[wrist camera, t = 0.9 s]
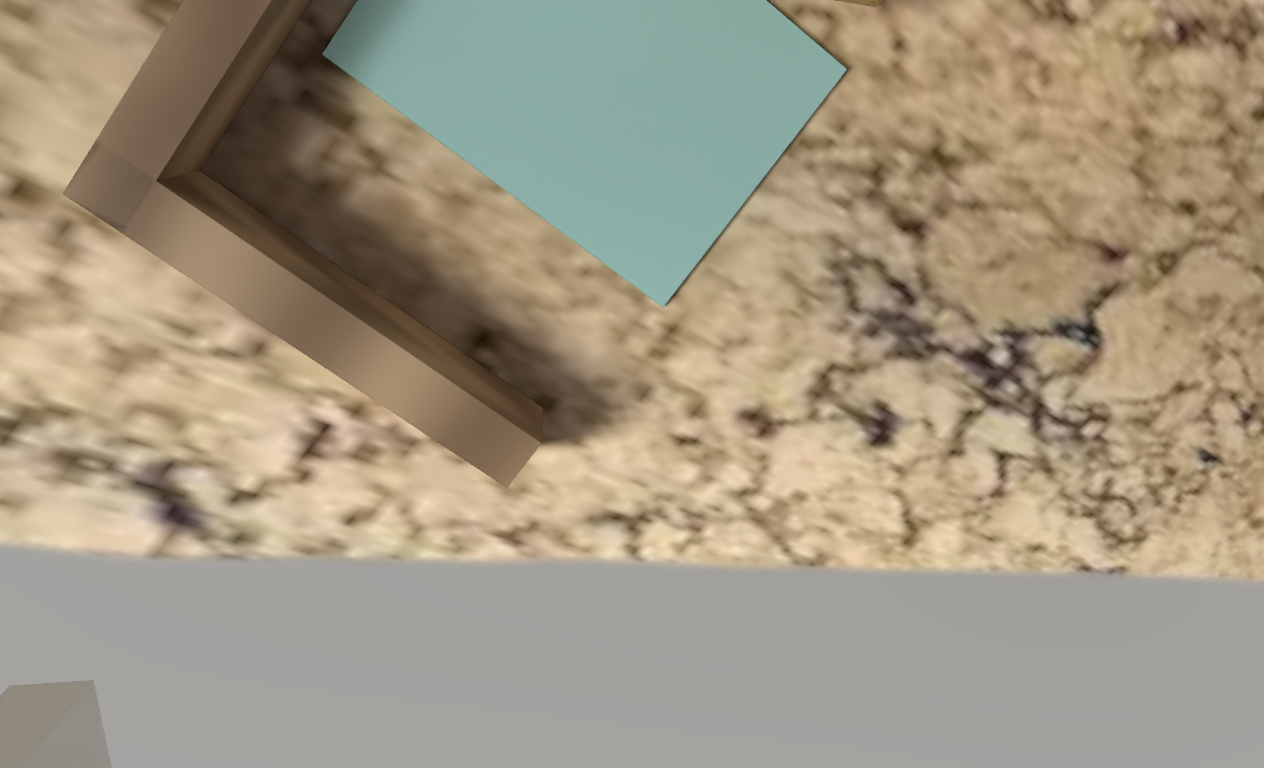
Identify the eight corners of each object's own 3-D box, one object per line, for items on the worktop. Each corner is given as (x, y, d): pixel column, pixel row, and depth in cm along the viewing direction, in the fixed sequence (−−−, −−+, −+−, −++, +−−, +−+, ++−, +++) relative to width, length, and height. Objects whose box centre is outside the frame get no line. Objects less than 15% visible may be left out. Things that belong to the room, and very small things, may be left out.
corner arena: (116, 182, 35) (62, 193, 31) (460, -361, 31) (447, -425, 27) (511, 448, 38) (506, 487, 34) (860, -9, 35) (898, -21, 31)
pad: (323, 54, 34) (322, 54, 34) (505, -222, 32) (504, -224, 32) (662, 306, 37) (663, 307, 37) (845, 69, 35) (847, 69, 35)
